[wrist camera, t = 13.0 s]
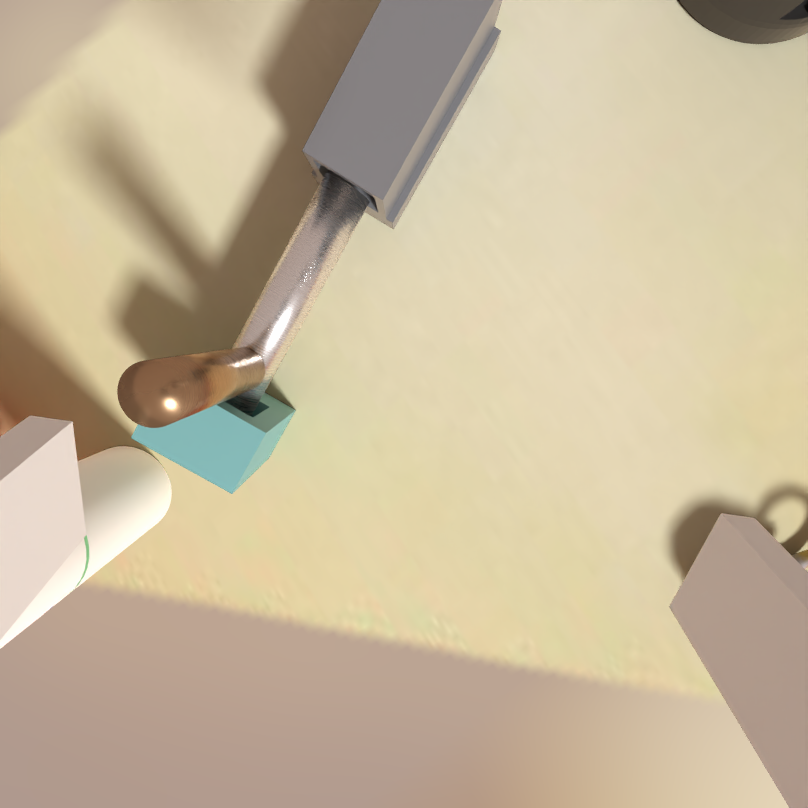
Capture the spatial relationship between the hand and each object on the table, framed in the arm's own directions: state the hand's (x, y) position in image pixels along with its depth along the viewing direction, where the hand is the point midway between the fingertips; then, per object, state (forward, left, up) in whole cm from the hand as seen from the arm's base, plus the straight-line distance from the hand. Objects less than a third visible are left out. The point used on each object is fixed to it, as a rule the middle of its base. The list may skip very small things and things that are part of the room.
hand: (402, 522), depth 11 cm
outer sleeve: (+10, -16, -29) cm, 34 cm away
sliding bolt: (+10, 0, -26) cm, 27 cm away
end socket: (+10, +9, -29) cm, 32 cm away
